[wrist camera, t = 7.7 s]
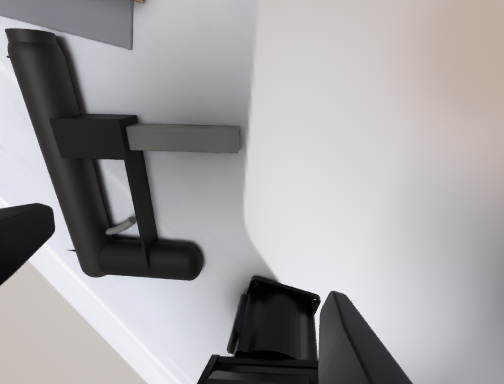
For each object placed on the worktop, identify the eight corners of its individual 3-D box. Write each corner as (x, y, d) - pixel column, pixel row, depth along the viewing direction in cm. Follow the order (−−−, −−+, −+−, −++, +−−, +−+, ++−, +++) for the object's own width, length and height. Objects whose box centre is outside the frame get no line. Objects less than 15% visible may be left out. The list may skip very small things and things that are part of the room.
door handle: (233, 23, 14) (-31, 27, 15) (239, 295, 22) (66, 282, 23) (241, 33, 17) (20, 36, 18) (243, 269, 25) (91, 259, 26)
